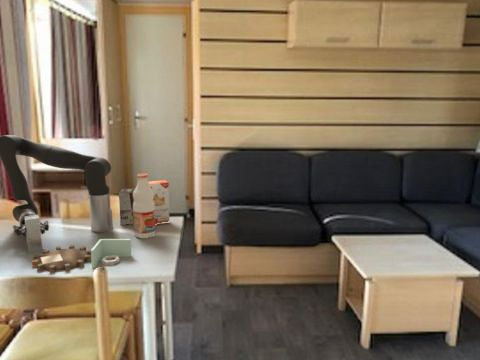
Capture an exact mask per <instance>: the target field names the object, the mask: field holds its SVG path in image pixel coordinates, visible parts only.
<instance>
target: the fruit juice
mask: <svg viewBox="0 0 480 360" xmlns="http://www.w3.org/2000/svg"><path fill="white" fill-rule="evenodd" d="M136 178H137V182H136V186H135V190H134V191H133V198H134V204H133V215H134V224H133V230H134V231H133V233H134V237H135V238H137V237H139V238H138V239H147V238H146V237H150V238H152V237H151V236H153V235H155V236H156V233H157V230H156V225H155V205H154V202H153V197H154V192H153V190H152V188H151V187H150V185H149V183H148V182H149V174H148V173H138V174H137V175H136ZM153 237H154V236H153Z"/></svg>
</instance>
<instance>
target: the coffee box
mask: <svg viewBox="0 0 480 360" xmlns="http://www.w3.org/2000/svg"><path fill="white" fill-rule="evenodd" d="M135 188H136V187H135ZM135 188H133V187H132V188H130V187H129V188H121V190H119V192H118V196H119V197H118V201H119V203H118V204H119V219H120V221H119V223H120V225H121V226H127V225H126V224H133V223H134V215H133V204H134V198H133V191H134V190H135ZM133 225H134V224H133Z"/></svg>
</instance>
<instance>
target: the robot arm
mask: <svg viewBox="0 0 480 360" xmlns="http://www.w3.org/2000/svg"><path fill="white" fill-rule="evenodd" d="M17 155H18V156H22V157H23V156H25V157H29V158H33V159H35V161H38V162H40V163H42V164H43V165H47V166H50V167H52V168H53V167H54V168H56V169H57V168H58V169H63V170H64V169H65V170H66V169H67V170H81V171H84V176H85V177H84V178H85V185H86V189H87V191H88V203H89V217H90V218H89V219H90V230H91V231H92V232H95V233H97V232H98V233H101V232H108V231H110V230H113V229H114V226H113V225H114V223H113V210H112V208H111V196H110V195H111V193H110V192H111V191H110V190H111V189H110V187H109V185H108V184H107V181H106V180H107V179H106V176H108V175H109V174H110V173H111V171H112V165H111V163H110V162H109V161H108V159H106V158H104V157H98V156H92V155H86V154H82V153H79V152H75V151H72V150H69V149H66V148H62V147H59V146H56V145H50V144H47V143H41V142H36V141H33V140H30V139H28V138H25V137H22V136H20V135H15V134H4V135H0V159H1V162H2V164H3V166H4V169H5V171H6V174H7V177H8V180H9V181H8V182H9V184H10V189H11V193H12V197H13V199H14V200H15V201H25V202H26V204H25V203H24V204H20V205H17V206H16V205H15V207H13V209H12V212H11V213H12V216H13V218H14V220H15V221H16V222H18V223H19V226H18V225H12V230H13V231H12V232H13V233H14V234H15V235H16V236H20V235H21V236H22V237H24V238H27V237H26V227H25V218H24V217H26V216H33V215H38V216H39V208H38V207H37V205H36V203H35V202H34V201H33V198H32V196H31V193H30V190H29V184H28V181H27V177H25V175H24V173H23V171H22V170H21V168H20V166H19V164H18V162H17ZM49 223H50V222H49V220H46V221H45V222H42V221H40V230H41V235H44V234H45V233H46V231H49V228H50V224H49Z"/></svg>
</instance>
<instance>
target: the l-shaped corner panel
mask: <svg viewBox="0 0 480 360" xmlns="http://www.w3.org/2000/svg"><path fill="white" fill-rule="evenodd" d="M131 241H132V240H131V238H100V239H98V240H97V242H96V243H95V244H94V245H93V247H92V248H91V249H90V250H91V261H90V262H91V269H95V268H96V267H97V265H98V264H99V262H100V261H101V264H102V265H105V266H113V265H115V264H116V265H117V264H119V262H120V260H121V259H120V257H132V242H131Z"/></svg>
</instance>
